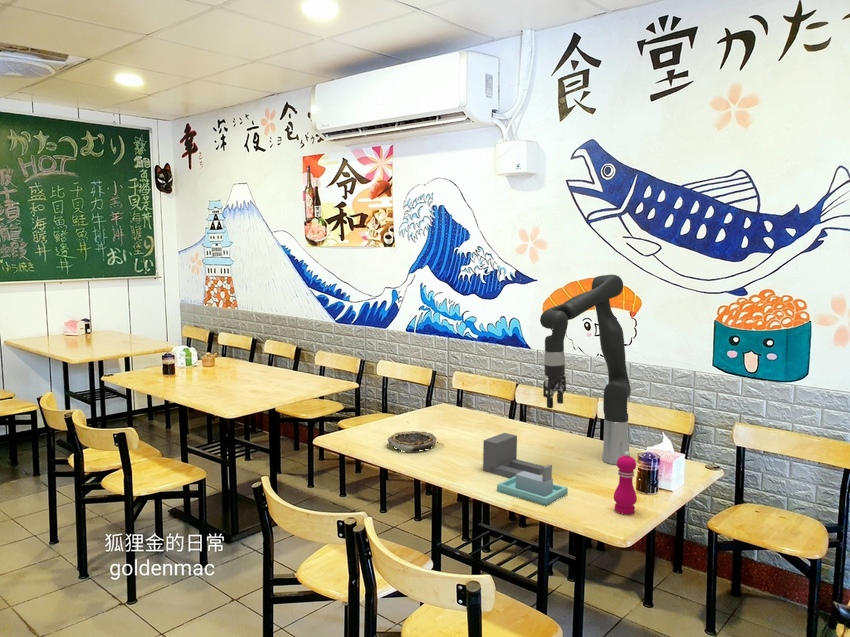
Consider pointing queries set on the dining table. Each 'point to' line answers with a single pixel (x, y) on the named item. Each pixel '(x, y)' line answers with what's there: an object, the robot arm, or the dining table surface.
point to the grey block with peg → (536, 482)
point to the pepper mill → (625, 485)
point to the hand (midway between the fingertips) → (555, 405)
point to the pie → (412, 440)
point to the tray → (510, 489)
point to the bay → (505, 457)
